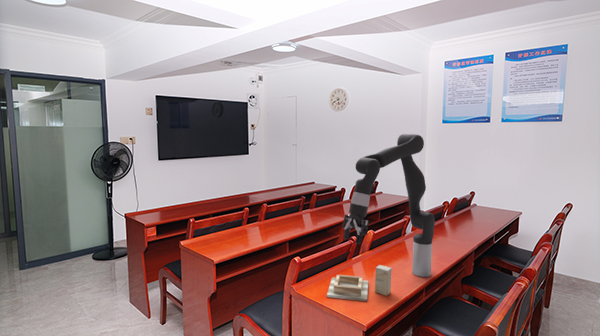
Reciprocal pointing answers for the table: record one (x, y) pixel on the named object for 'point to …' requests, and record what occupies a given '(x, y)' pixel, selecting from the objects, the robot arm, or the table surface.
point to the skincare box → (383, 280)
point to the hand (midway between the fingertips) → (351, 241)
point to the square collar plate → (348, 288)
